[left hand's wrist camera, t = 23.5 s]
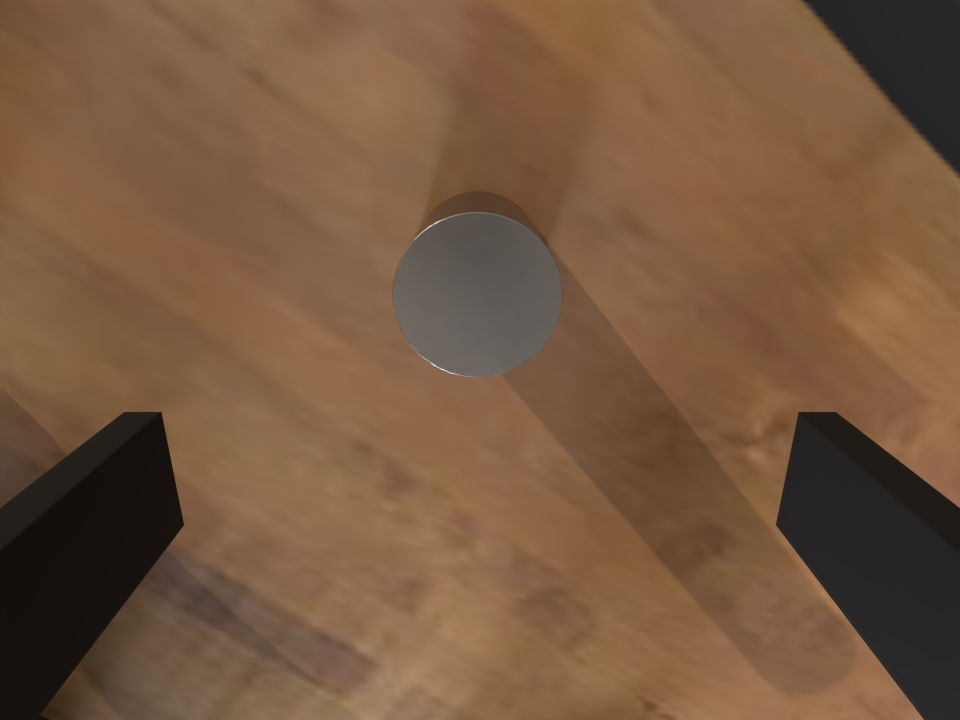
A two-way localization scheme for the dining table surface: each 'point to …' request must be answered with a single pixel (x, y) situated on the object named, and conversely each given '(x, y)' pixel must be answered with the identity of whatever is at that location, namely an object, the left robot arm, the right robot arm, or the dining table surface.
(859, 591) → the left robot arm
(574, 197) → the dining table surface
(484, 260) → the tin
